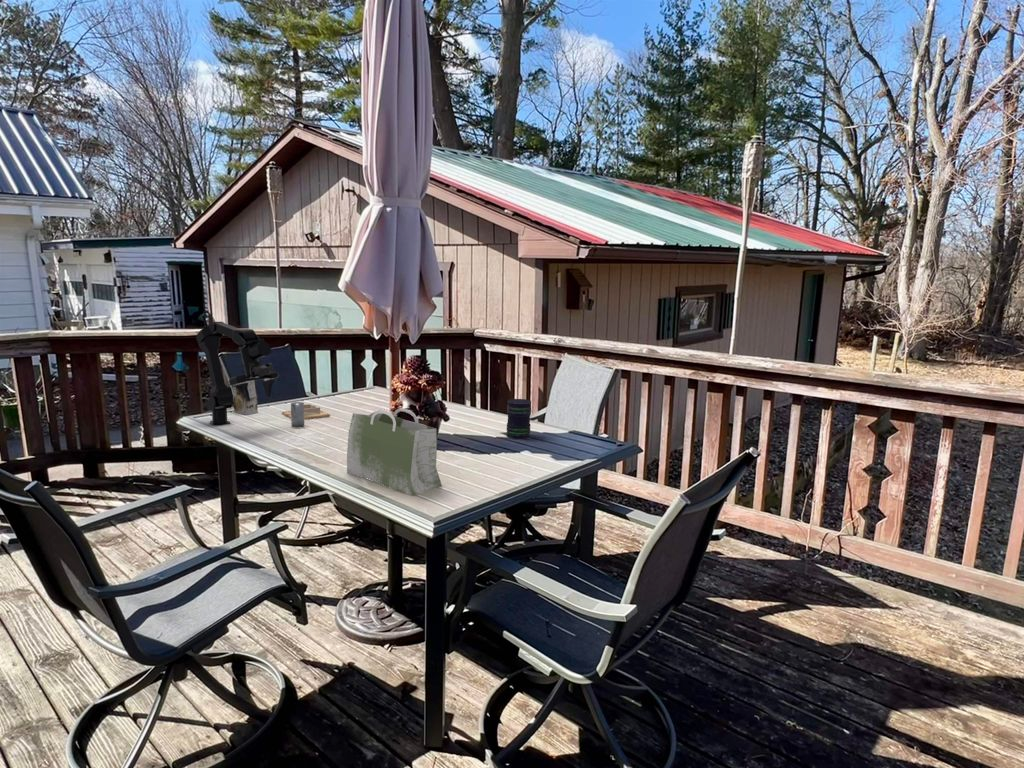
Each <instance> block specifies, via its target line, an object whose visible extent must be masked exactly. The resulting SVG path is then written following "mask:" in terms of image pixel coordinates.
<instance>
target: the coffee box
mask: <svg viewBox="0 0 1024 768" xmlns="http://www.w3.org/2000/svg"><path fill="white" fill-rule="evenodd" d="M250 378H252V377H250ZM257 381H258V380H252V381H246V383H248V387H247V388H248V392H249V396H250V401H247V400H246V398H245V397H244V396H243V395H242V393H241V392H240V391H239V390H238V389H237V388H236V387H233V386H235V385H232V394H233V412H234V413H235V412H236V413H237V414H240V415H244V416H246V415H247V416H248V415H253V414H254V415H255V414H258V412H259V410H258V391H257V390H258V388H257V387H258V384H257ZM236 413H235V414H236Z"/></svg>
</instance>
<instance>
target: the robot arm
mask: <svg viewBox="0 0 1024 768" xmlns="http://www.w3.org/2000/svg"><path fill="white" fill-rule="evenodd" d="M223 336H225V337H228V338H231V339H232V341H233V342H234V343H236V344H237V345H239V347H238V348H237V352H238V353H240V355H241V360H242V365H241V368H243V369H244V373H245V374H244V375H242V374H241V375H236V376H233V377H230V378H229V381H228V382H229V386H227V385H226V382H225V379H224V373H223V369H222V365H221V360H220V356H219V348H220V345H221V339H222V338H223ZM195 339H196V341H197V345H198V347H199V348H200V349H201V350H202V352H204V354H205V355H204V356H205V359H206V365H207V370H208V372H209V373H208V374H209V377H210V381H211V388H210V391H209V399H208V400H207V402H206V403H205V408H206V410H207V411H211V417H212V420H210V421H209V422H210V424H211V425H213V426H219V425H229V424H231V422H230V421H229V420H228V409H232V408H233V404H234V397H233V387H236V388H237V389H238V390H239V391H240V392H241V393H242V395H243V396H244V397H245V398H246V400H247V401H250V396H249V392H248V388H247V387H248V383H246V381H252V380H257V381H258V380H262V381H261V383H262V387H263V390H264V391H265V394H266V396H267V398H268V399H269V398H271V395H272V394H271V393H272V386H273V384H274V382H275V381H277V378H280V377H279V373H278V371H276V370H274V369H275V368H274V364H273V363H271V362H269V363H268V362H267V363H265V364H262V362H261V361H259V359H260V358H264V357H267V356H269V355H270V354H271V352H272V348H271V345H270V344H268V343H267V341H265V339H264V338H260V337H259V335H258V334H257V333H256V332H255V330H254V329H253V328H252V329H250V328H239V327H236V326H233V325H231V324H227V323H225V322H224V321H211V322H210V323H209V324H208V325H206V326H205V327H202V328H201V329H199V331H198V332H197V334H196V337H195ZM250 377H252V378H250ZM233 385H235V386H233ZM231 386H232V387H231Z"/></svg>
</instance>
